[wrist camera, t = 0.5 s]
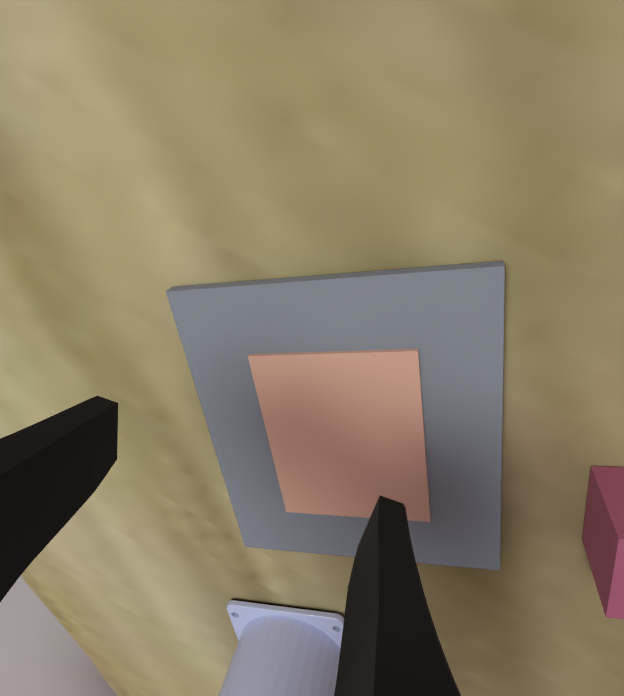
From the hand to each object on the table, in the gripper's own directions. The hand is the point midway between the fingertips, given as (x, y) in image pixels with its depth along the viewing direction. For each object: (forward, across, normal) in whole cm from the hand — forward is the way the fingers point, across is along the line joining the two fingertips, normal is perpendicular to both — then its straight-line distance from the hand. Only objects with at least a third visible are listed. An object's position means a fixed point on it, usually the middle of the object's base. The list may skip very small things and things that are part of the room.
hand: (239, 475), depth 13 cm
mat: (+10, -2, +5) cm, 11 cm away
